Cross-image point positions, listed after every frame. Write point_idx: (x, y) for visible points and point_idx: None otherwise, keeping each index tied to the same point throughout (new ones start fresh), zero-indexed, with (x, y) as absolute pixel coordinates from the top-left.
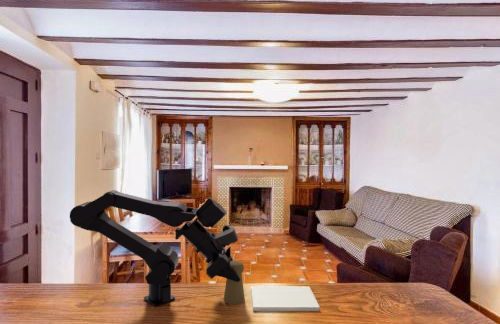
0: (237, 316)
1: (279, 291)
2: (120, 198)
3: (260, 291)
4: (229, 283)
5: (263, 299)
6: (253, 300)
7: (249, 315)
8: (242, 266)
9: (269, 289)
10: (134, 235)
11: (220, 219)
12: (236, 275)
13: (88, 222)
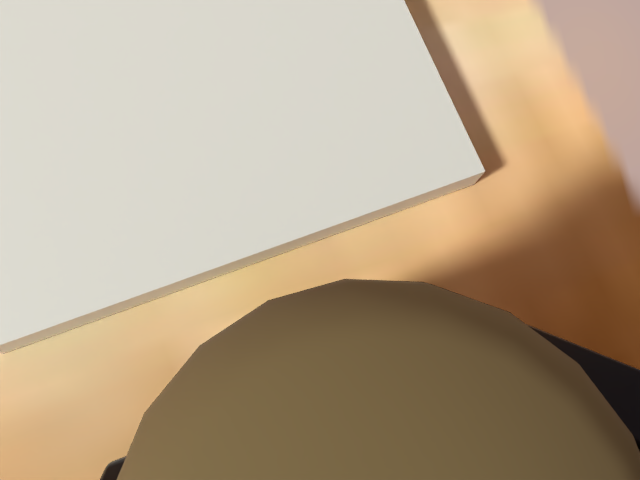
0: (630, 288)
1: (43, 13)
2: None
3: (105, 198)
4: None
5: (288, 119)
6: (348, 209)
7: (562, 191)
8: (407, 282)
9: (21, 119)
10: None
11: None
12: (611, 367)
13: None
